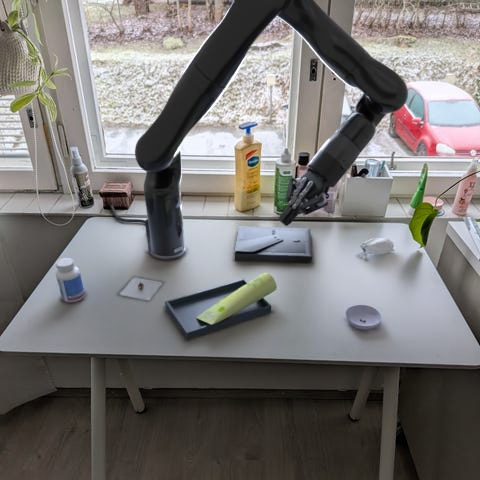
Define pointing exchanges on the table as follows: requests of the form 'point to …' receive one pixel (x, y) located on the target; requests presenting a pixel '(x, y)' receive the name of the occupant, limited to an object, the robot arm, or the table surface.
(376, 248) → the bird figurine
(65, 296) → the pill bottle
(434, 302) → the table surface
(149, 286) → the square paper sheet
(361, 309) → the small lavender dish
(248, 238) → the picture frame
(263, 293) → the tube
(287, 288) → the table surface
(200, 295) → the tray
